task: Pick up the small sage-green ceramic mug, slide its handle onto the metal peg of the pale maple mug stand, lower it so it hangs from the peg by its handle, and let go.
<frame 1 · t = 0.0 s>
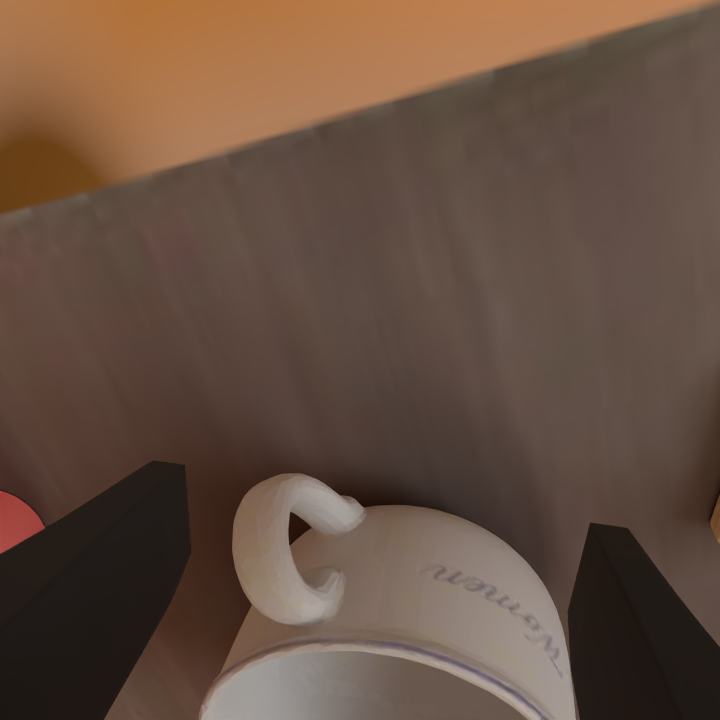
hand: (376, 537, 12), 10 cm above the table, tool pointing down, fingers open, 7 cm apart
teacup: (400, 544, 25), on the table
figurine: (8, 524, 28), on the table
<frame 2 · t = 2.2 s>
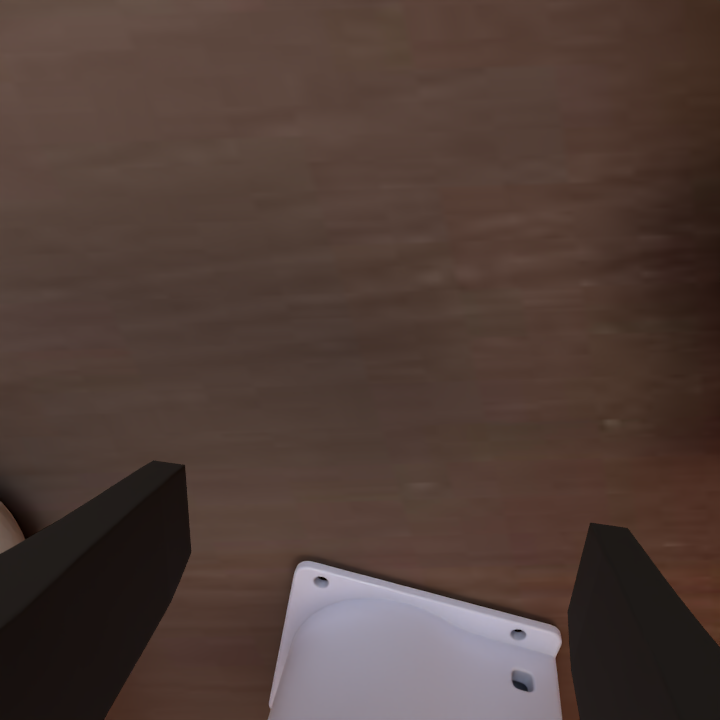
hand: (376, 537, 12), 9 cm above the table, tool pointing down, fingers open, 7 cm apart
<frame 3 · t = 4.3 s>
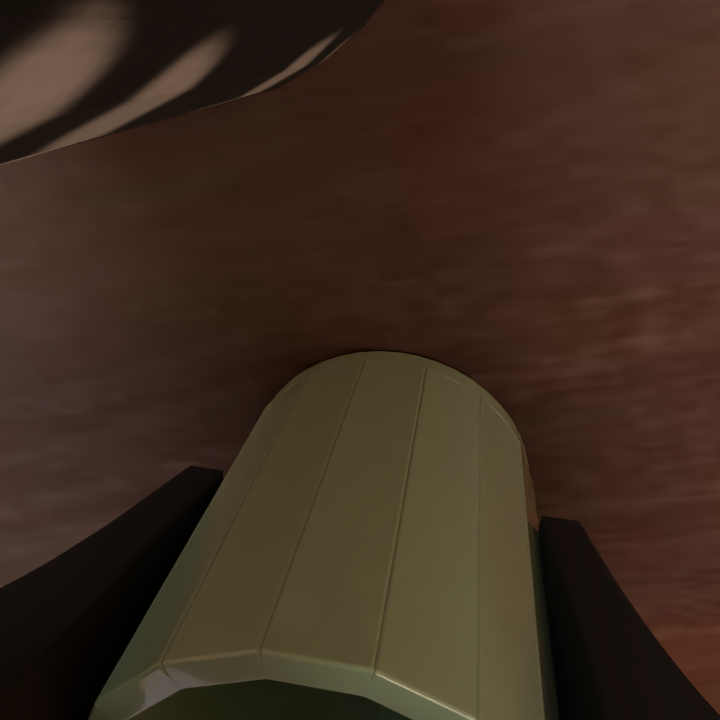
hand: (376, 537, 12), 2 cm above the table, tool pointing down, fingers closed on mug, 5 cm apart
mug: (387, 475, 14), on the table, touching gripper
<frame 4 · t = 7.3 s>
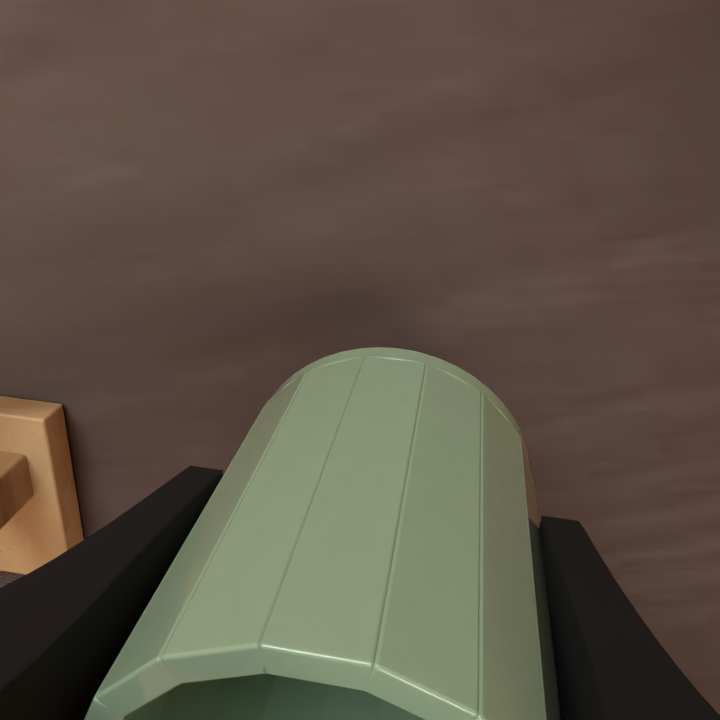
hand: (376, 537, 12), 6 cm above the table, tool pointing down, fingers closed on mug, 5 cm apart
mug: (387, 472, 14), point 4 cm above the table, touching gripper
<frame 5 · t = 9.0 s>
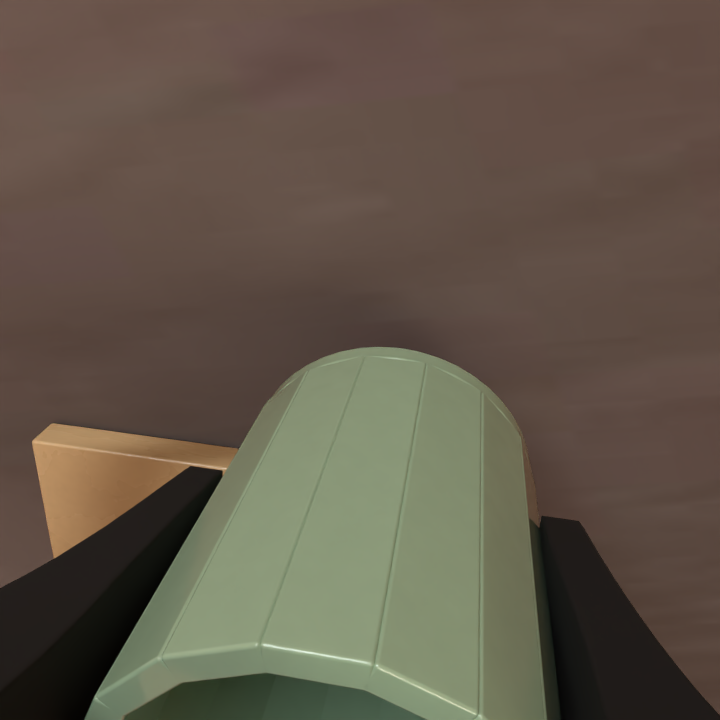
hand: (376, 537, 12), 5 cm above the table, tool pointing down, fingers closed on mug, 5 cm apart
mug: (388, 472, 14), point 3 cm above the table, touching gripper
mug stand: (162, 523, 20), on the table
when the fingers open (4 cm above the table, at t = 10.5 s): mug drops 1 cm, resting on mug stand.
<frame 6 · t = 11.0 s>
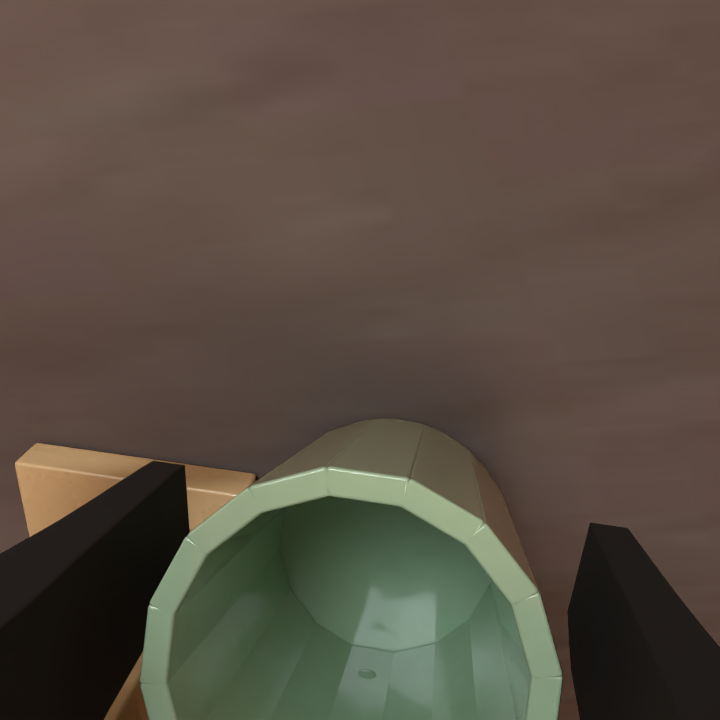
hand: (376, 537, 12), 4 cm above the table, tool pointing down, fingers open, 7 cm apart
mug: (387, 538, 16), point 1 cm above the table, tilted 25°, touching mug stand
mug stand: (153, 547, 19), on the table
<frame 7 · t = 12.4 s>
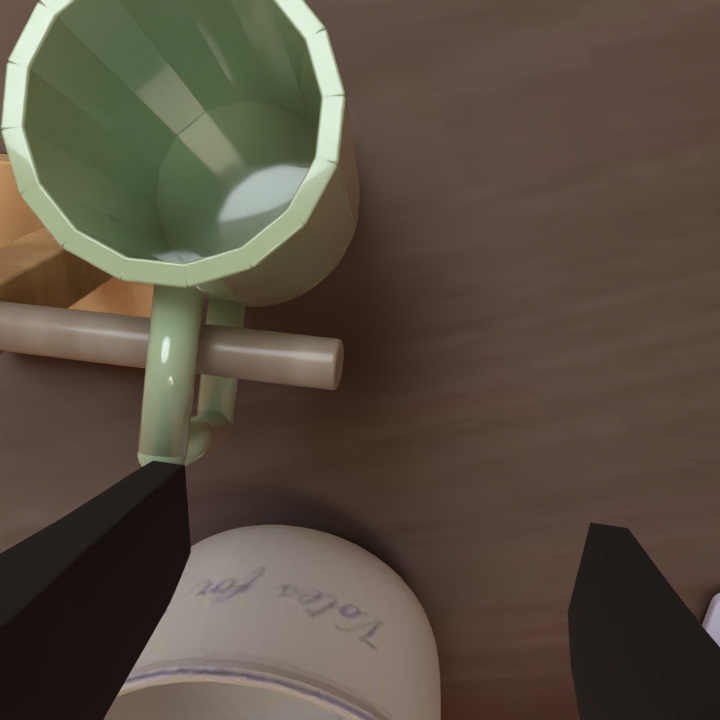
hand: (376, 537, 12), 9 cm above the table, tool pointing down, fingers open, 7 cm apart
mug: (253, 200, 18), point 1 cm above the table, tilted 25°, touching mug stand
mug stand: (75, 258, 21), on the table
teacup: (271, 598, 26), on the table
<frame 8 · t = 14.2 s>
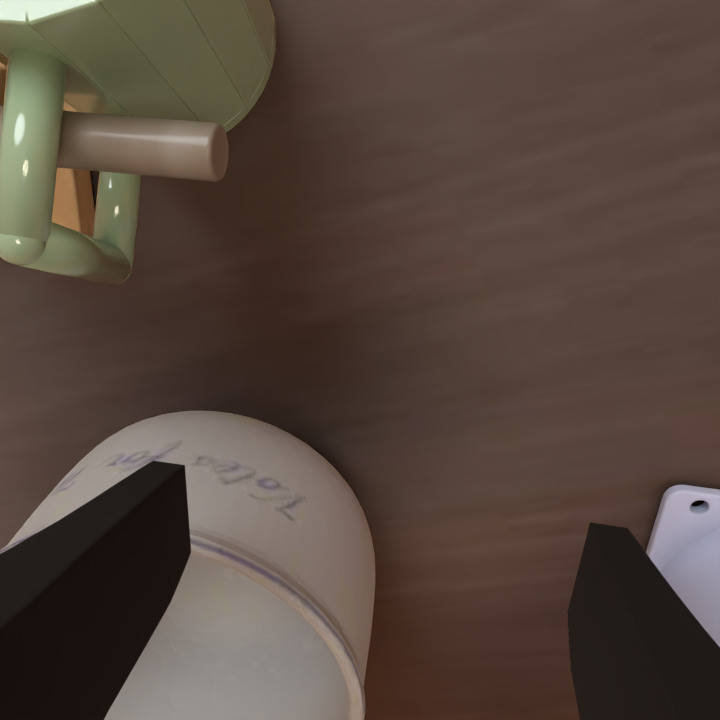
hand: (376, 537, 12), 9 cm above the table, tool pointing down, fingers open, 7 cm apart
mug: (164, 39, 17), point 1 cm above the table, tilted 25°, touching mug stand
teacup: (210, 507, 25), on the table
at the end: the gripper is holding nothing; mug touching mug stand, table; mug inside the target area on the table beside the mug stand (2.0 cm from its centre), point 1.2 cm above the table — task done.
